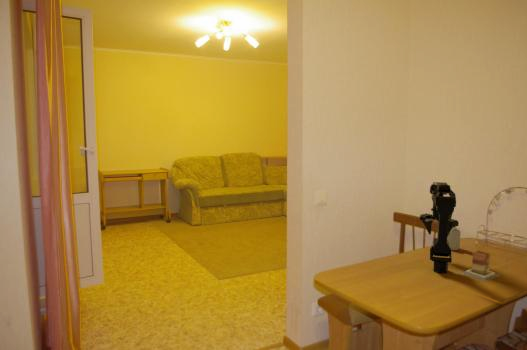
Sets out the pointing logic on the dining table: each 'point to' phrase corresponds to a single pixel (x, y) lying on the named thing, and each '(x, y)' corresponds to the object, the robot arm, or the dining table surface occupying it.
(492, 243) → the dining table surface
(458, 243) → the can
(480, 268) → the base block
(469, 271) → the board
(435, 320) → the dining table surface
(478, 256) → the top block
